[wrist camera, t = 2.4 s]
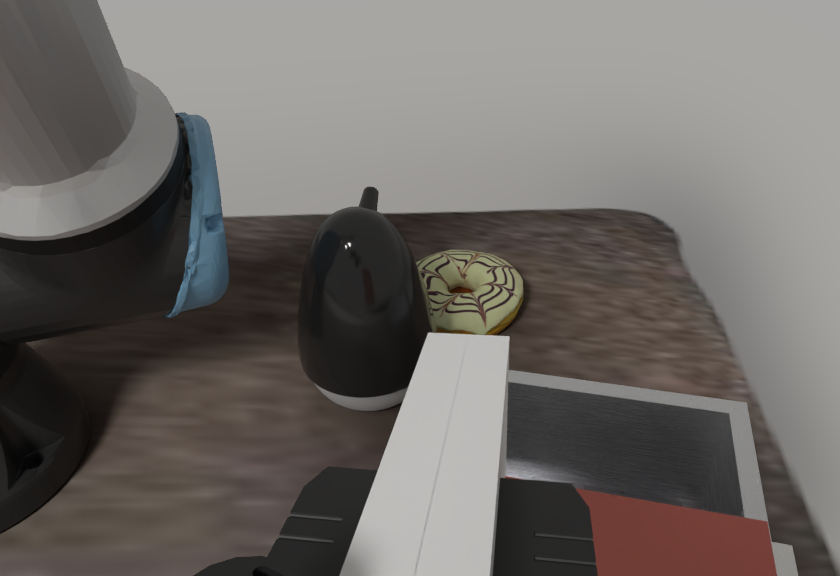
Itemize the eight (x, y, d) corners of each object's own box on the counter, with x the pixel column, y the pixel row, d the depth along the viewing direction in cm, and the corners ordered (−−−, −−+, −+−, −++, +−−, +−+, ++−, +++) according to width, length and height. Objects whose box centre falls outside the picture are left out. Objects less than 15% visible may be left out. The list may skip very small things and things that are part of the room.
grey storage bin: (744, 806, 30) (803, 719, 24) (395, 714, 33) (380, 621, 28) (711, 504, 42) (746, 402, 37) (460, 460, 46) (458, 362, 40)
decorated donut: (380, 336, 57) (376, 301, 55) (428, 267, 65) (426, 234, 62) (499, 365, 53) (500, 328, 51) (534, 288, 61) (536, 254, 59)
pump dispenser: (447, 342, 56) (442, 176, 47) (429, 439, 47) (419, 260, 38) (327, 334, 57) (300, 172, 48) (290, 427, 49) (248, 252, 40)
